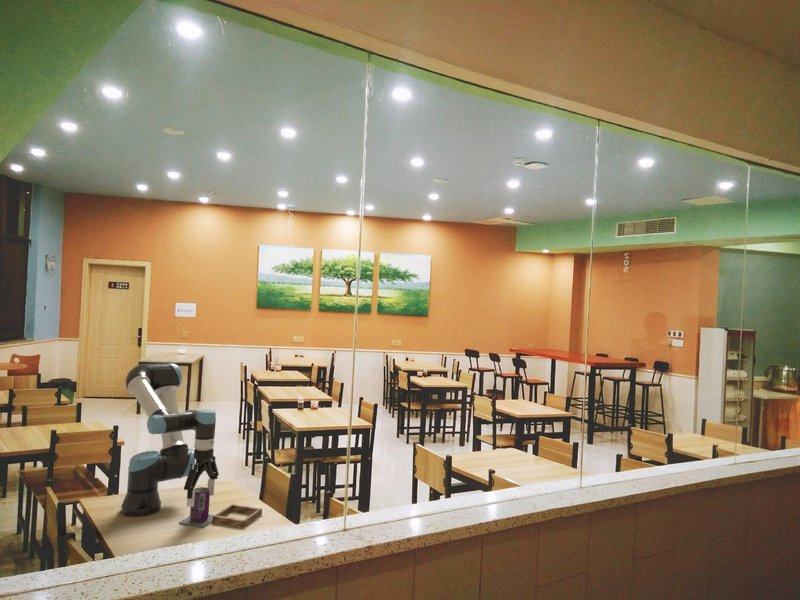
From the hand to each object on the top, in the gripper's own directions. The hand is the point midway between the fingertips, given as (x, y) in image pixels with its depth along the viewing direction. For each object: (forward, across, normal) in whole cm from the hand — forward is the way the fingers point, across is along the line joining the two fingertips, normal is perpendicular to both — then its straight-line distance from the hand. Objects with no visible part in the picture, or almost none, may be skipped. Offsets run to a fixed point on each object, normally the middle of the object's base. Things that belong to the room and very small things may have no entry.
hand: (200, 500), depth 209 cm
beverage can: (+8, 0, 0) cm, 8 cm away
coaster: (+8, 0, 0) cm, 8 cm away
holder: (+8, +8, -13) cm, 17 cm away
